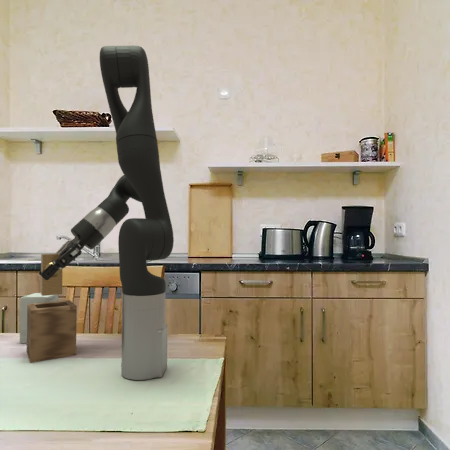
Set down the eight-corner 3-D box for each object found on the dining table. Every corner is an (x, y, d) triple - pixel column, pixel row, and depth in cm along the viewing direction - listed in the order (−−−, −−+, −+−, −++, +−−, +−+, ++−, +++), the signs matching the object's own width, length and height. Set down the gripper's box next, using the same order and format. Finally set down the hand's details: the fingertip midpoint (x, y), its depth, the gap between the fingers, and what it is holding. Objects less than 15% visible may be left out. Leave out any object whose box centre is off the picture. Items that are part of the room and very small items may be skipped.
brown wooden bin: (69, 345, 97) (69, 300, 97) (76, 354, 90) (76, 305, 90) (26, 351, 92) (27, 304, 92) (30, 362, 84) (30, 310, 84)
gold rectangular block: (60, 292, 93) (60, 253, 93) (62, 294, 91) (62, 254, 91) (40, 294, 91) (41, 253, 91) (42, 295, 89) (42, 254, 89)
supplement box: (46, 344, 98) (46, 297, 98) (18, 343, 98) (19, 296, 99) (58, 336, 106) (59, 292, 106) (33, 335, 106) (33, 292, 106)
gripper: (78, 218, 101) (27, 264, 94) (90, 217, 89) (33, 269, 83) (97, 237, 104) (49, 283, 97) (111, 238, 92) (58, 291, 85)
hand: (42, 276), depth 90 cm, fingers closed on gold rectangular block, 2 cm apart
